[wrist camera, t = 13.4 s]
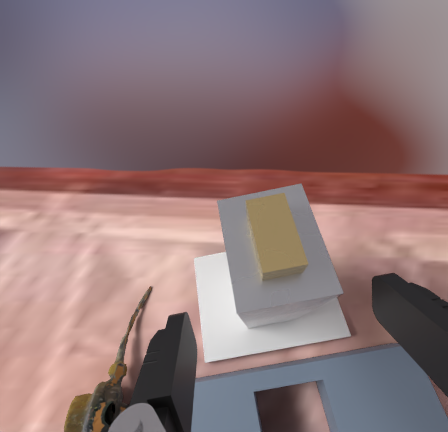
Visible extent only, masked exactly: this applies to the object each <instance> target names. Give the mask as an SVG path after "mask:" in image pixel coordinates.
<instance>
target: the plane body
mask: <svg viewBox="0 0 448 432" xmlns="http://www.w3.org/2000/svg"><path fill="white" fill-rule="evenodd" d="M312 381H316V383H317V386H318V390H319V393H320V397H321V400H322V404H323V408H324V411H325V415H326V418H327V422H328V425H329V429H330V432H448V418H447V415H446V413H445V411H444V409H443V407H442V405H441V403H440V401H439V398H438V396H437V394H436V392H435V390H434V388H433V386H432V384H431V382H430V379H429V377H428V375H427V374H426V373H425V372H424V371H423V369H422V368H421V367H420V366H419V365H418V364H417V363H416V362H415V361H414V360H413V359H412V358H411V356H410V355H409V354H408V353H407V352H406V351H405V350H404V349H403V348H402V347H401V346H400V344H399V343H390V344H384V345H379V346H373V347H368V348H362V349H357V350H351V351H346V352H340V353H334V354H329V355H323V356H318V357H312V358H307V359H301V360H295V361H290V362H284V363H279V364H273V365H268V366H262V367H256V368H251V369H245V370H240V371H234V372H229V373H223V374H218V375H212V376H206V377H201V378H195V389H194V401H193V414H192V426H191V432H262V426H261V421H260V415H259V410H258V404H257V399H256V393H255V391H261V390H267V389H273V388H278V387H284V386H290V385H295V384H301V383H307V382H312Z"/></svg>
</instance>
